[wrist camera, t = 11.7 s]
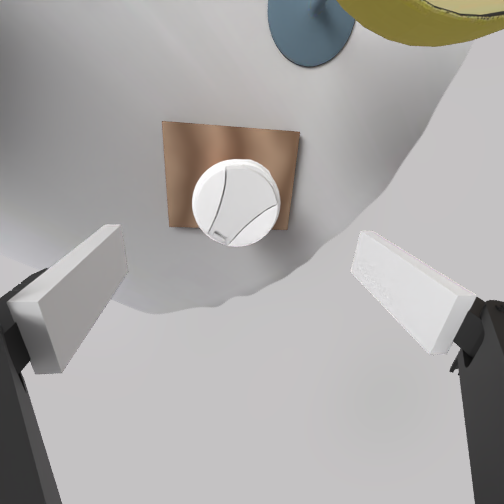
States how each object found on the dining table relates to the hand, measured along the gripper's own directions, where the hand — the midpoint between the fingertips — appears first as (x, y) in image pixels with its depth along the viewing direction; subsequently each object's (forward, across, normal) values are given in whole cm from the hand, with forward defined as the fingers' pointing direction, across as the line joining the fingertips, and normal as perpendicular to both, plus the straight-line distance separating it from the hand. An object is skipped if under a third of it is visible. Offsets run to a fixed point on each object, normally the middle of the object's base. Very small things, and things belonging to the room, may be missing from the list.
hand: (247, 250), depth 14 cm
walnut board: (+26, 0, 0) cm, 26 cm away
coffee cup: (+24, 0, 0) cm, 24 cm away
